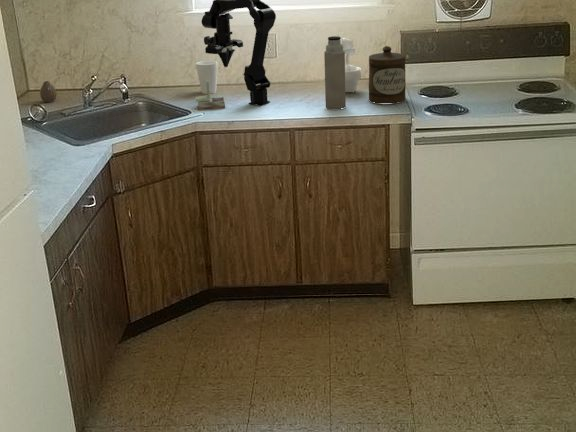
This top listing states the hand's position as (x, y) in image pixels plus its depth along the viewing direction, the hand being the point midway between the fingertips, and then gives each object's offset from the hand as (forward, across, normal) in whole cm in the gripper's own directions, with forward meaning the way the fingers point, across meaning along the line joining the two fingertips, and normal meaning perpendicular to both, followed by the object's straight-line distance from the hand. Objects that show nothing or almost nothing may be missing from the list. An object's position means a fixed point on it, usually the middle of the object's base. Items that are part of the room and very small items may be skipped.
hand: (225, 67), depth 341 cm
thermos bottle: (+13, -5, +51) cm, 53 cm away
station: (+13, +16, +4) cm, 21 cm away
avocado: (+13, +40, -68) cm, 80 cm away
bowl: (+13, +18, +2) cm, 22 cm away
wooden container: (+13, -24, +64) cm, 70 cm away
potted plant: (+13, -30, +42) cm, 53 cm away
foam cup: (+13, -4, -14) cm, 20 cm away
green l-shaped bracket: (+10, +18, +2) cm, 21 cm away
